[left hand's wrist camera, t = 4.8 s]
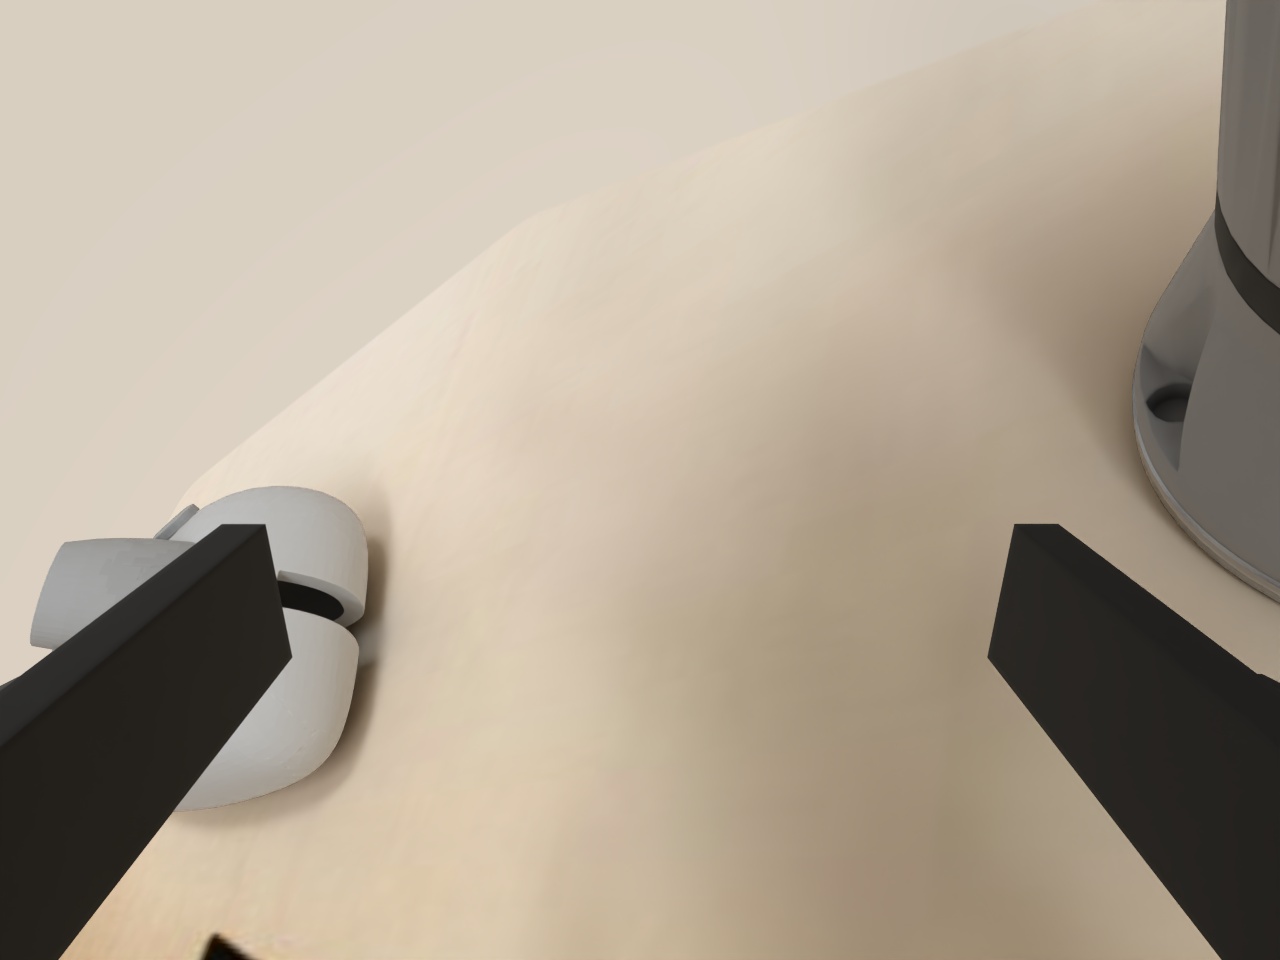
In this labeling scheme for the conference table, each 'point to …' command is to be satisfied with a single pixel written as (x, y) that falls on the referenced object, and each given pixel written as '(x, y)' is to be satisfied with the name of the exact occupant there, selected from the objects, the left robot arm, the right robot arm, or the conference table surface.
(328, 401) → the conference table surface
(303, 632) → the projector
